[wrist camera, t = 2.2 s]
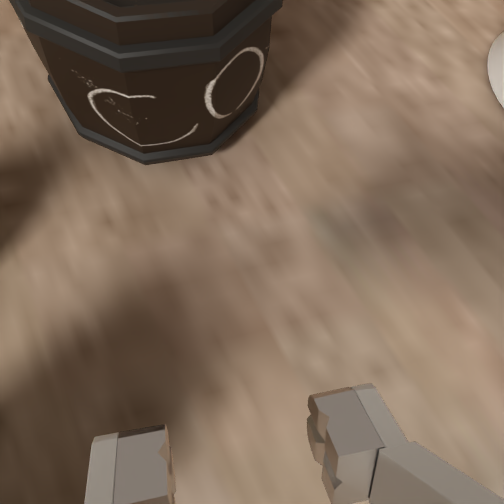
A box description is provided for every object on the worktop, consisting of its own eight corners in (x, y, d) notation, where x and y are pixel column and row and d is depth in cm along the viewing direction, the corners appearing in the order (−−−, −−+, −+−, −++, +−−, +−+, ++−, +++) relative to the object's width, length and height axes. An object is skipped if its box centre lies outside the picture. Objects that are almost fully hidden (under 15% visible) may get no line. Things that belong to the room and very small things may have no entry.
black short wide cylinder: (300, 122, 39) (366, -31, 24) (121, 210, 35) (64, 92, 20) (203, -23, 42) (207, -241, 27) (25, 42, 38) (-88, -173, 23)
